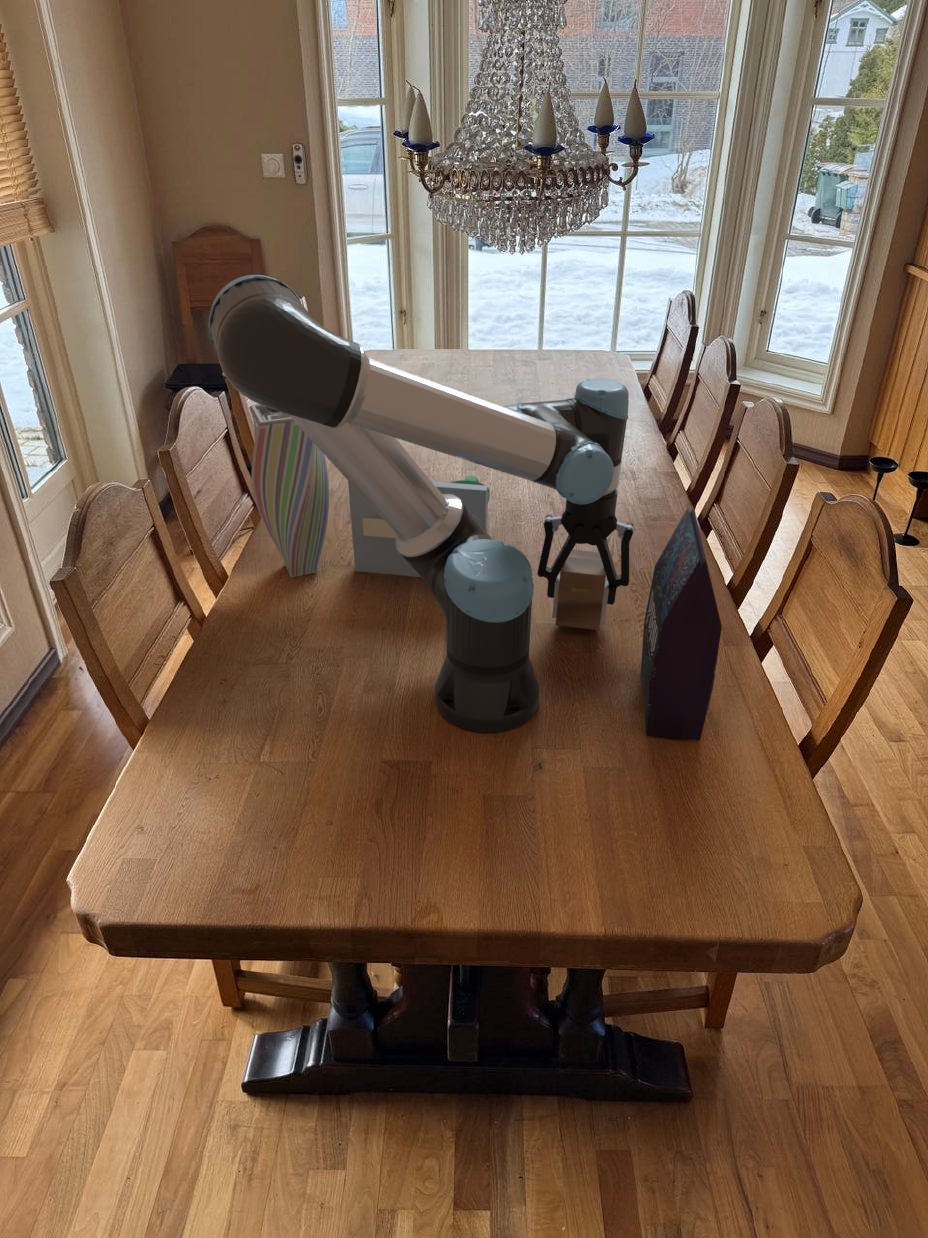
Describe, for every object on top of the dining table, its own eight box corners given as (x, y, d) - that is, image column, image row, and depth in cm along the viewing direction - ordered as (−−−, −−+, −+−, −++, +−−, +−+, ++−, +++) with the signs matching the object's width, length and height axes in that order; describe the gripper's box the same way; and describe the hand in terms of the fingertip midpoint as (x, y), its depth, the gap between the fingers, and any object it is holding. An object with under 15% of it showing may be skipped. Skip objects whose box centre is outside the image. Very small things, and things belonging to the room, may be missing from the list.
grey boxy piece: (482, 591, 153) (483, 497, 143) (350, 578, 157) (343, 486, 147) (492, 562, 162) (493, 471, 152) (367, 550, 166) (361, 461, 156)
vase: (328, 546, 167) (313, 392, 151) (346, 579, 157) (332, 418, 141) (257, 558, 163) (234, 402, 147) (271, 593, 153) (248, 429, 136)
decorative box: (642, 739, 120) (668, 560, 105) (637, 669, 134) (659, 502, 118) (703, 743, 119) (738, 564, 104) (691, 673, 133) (720, 505, 118)
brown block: (598, 632, 139) (605, 578, 134) (555, 627, 140) (560, 573, 135) (601, 604, 146) (608, 552, 141) (560, 600, 148) (565, 547, 142)
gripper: (660, 482, 131) (641, 611, 144) (529, 470, 134) (521, 597, 147) (660, 503, 125) (640, 636, 138) (523, 489, 128) (514, 621, 140)
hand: (578, 616), depth 142 cm, fingers closed on brown block, 7 cm apart
